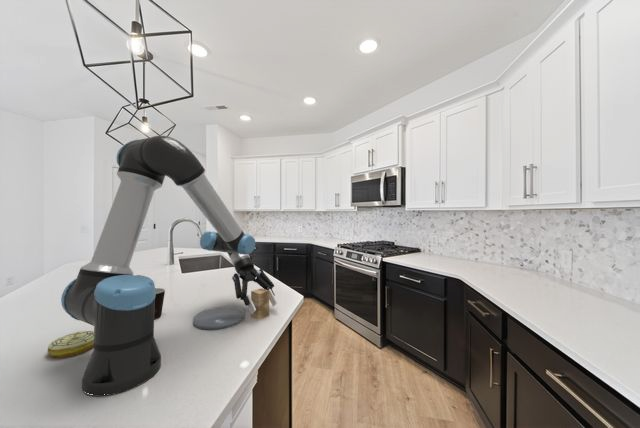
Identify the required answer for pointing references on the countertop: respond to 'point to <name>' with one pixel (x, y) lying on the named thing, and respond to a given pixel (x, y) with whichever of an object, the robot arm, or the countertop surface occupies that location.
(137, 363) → the robot arm
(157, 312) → the coffee mug
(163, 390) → the countertop surface
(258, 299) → the oak block
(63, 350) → the decorated donut
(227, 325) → the dish
